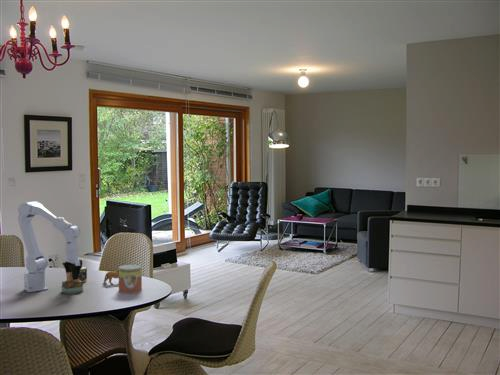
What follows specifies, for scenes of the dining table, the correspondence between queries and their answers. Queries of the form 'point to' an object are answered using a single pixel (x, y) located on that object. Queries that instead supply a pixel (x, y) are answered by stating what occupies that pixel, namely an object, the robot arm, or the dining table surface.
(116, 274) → the lion figurine
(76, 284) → the brown wooden rectangular frame
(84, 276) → the medicine bottle
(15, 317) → the dining table surface
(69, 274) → the block
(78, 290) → the pale green domed part
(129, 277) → the canned food
